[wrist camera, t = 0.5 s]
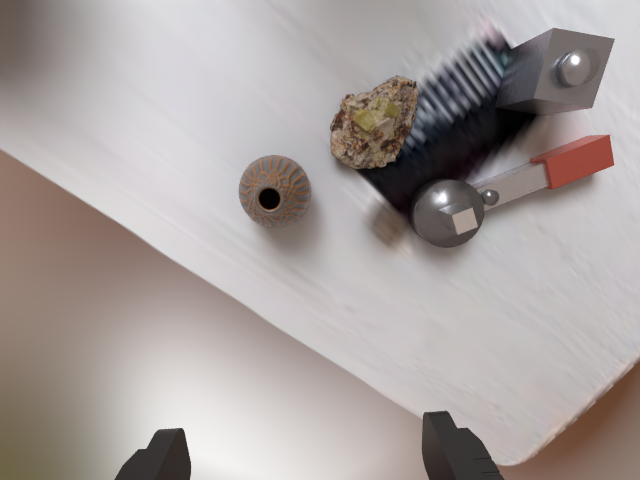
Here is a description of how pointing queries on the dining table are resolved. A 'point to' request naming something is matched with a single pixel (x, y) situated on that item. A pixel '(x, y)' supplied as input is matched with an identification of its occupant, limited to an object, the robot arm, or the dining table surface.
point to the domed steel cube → (554, 73)
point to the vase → (274, 191)
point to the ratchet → (500, 190)
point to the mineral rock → (374, 124)
